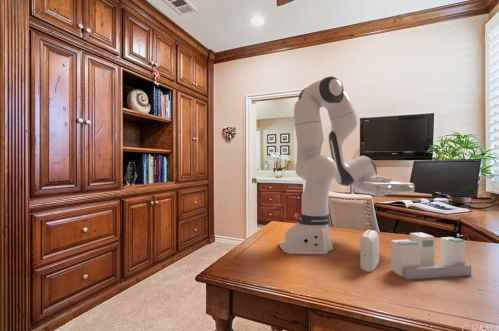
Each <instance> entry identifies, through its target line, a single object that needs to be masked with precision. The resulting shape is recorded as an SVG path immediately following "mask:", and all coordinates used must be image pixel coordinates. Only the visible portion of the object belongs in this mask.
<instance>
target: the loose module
mask: <svg viewBox="0 0 499 331" xmlns="http://www.w3.org/2000/svg"><path fill="white" fill-rule="evenodd" d="M409 240H411V241H415V242H418V243H419V244H420V267H430V266H435V236H433V235H431V234H428V233H425V232H409Z"/></svg>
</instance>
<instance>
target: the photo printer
mask: <svg viewBox="0 0 499 331" xmlns="http://www.w3.org/2000/svg"><path fill="white" fill-rule="evenodd" d="M379 237H380V236H379V234H378V232H377V231H376V230H374V229H368V230H365V231H364V232H363V233H362V234H361V236H360V240H359V257H360V260H359V261H360V262H359V263H360V269H361V270H362V271H363V272H369V273H371V272H373V271H374V270H375V269H376V268H377V267H378V265H379V264H380V263H379V262H380V244H379V243H380V242H379V241H380V240H379V239H380V238H379Z"/></svg>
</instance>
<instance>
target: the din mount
mask: <svg viewBox="0 0 499 331" xmlns="http://www.w3.org/2000/svg"><path fill="white" fill-rule="evenodd" d="M466 247H467V246H466V241H465V240H464V239H462V238H459V237H458V238H457V237H456V238H455V237H453V236H446V237H445V236H444V237H443V236H442V237H440V265H434V266H430V267H420V244H419V243H418V242H415V241H411V240H410V239H391V240H390V258H391V259H390V260H391V261H390V262H391V263H390V265H391V266H390V268H391V272H393V273H395V274H396V275H398V276H399V277H401V278H403V279H405V280H421V279H434V278H435V279H436V278H447V277H449V278H450V277H462V276H463V277H464V276H472V265H471V264H468V263H467V259H466V258H467V257H466V256H467V255H466V253H467V248H466Z"/></svg>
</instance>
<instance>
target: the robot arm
mask: <svg viewBox="0 0 499 331" xmlns="http://www.w3.org/2000/svg"><path fill="white" fill-rule="evenodd" d="M321 108H324V109H326V111H327V113H328V117H329V120H330V124H331V129H330V130H331V131H330V132H329V133H328V143H329V144H328V145H329V150H330V154H331V158H330V157H328V156H325V155H321V152H322V145H323V143H324V133H323V126H322V125H323V124H322V118H321V114H320V111H321ZM293 120H294V129H295V136H296V146H297V148H296V164H295V167H294V170H295V173H296V175H297V176H298V177H299V178H301V179H302V180H304V181H305V185H304V190H303V192H302V194H301V213H299V214H298V213H294V219H297V222H296V223H295V224H293V225H292V226H291V227H289V229H287V230H286V231H285V234H284V240H282V241H280V242H279V244H278V245H279V246H280V247H279V248H281V249H282V250H283V251H282V250H281V249H280V250H281V251H282V252H283V253H285V252H286V254H288V255H327V254H328V252H330V251H333V249H334V246H333V243H332V239H331V234H330V227H331V226H330V223H331V219H330V218H331V217H330V214H329V194H330V190H331V189H330V188H331V186H332V182H333V180H334V179H335V182H336V183H338V185H340V186H344V187H348V186H350V185H352V188H354V189H355V190H356V191H357V192H359V193H362V194H366V195H372V196H376V197H384V196H388V195H396V194H400V193H403V194H405V193H414V192H415V184H414V183H413V182H409V181H405V180H400V179H398V178H391V177H386V176H382V175H378V169H377V165H376V163H375V162H374V160H373V159H371V158H370V157H368V156H366V155H360V156H358V157H356V158H352V160H348V161H346V162H345V159H344V158H345V157H344V153H343V144H344V142H345V140H347V138H348V137H349V136H351V134H352V133H353V132H354V131H355V129H356V127H357V126H358V115H357V113H356V111H355V108H354V105H353V103H352V101H351V99H350V97H349V96H348V94H347V93H346V91H344V86H343V82H342V81H341V80H340V79H339V78H338V77H337V76H326V77H324V78H322V79H320V80H318V81H315V82H313V83H312V84H310V85H308V86H307V87H305V88H303V89H302V90H301V92H300V93H299V95H298V100H297V101H296V102H295V104H294V108H293Z"/></svg>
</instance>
